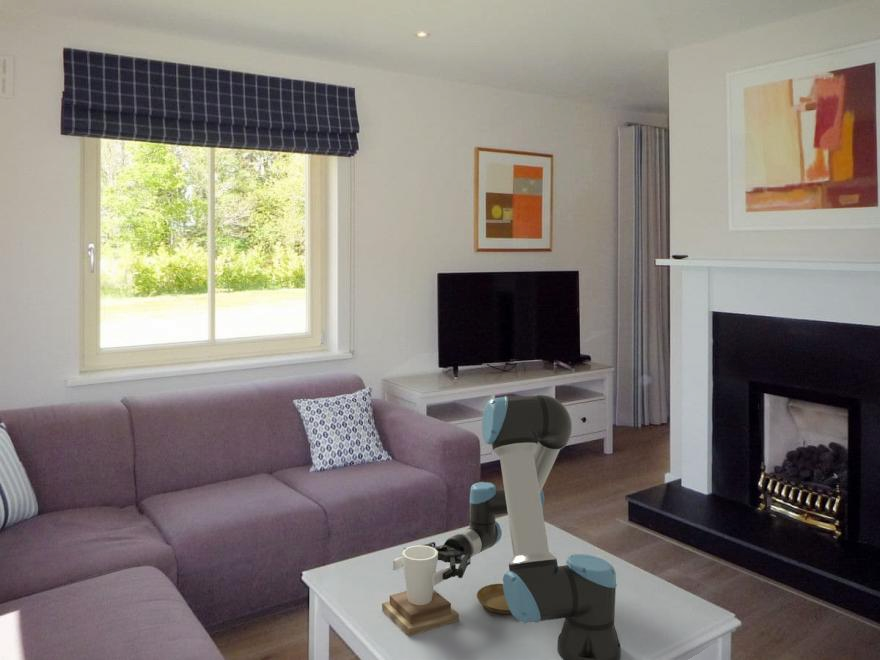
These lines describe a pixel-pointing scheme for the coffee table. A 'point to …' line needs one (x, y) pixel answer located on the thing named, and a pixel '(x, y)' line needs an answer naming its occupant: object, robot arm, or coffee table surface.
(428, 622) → the plinth
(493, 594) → the plant saucer
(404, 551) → the foam cup
